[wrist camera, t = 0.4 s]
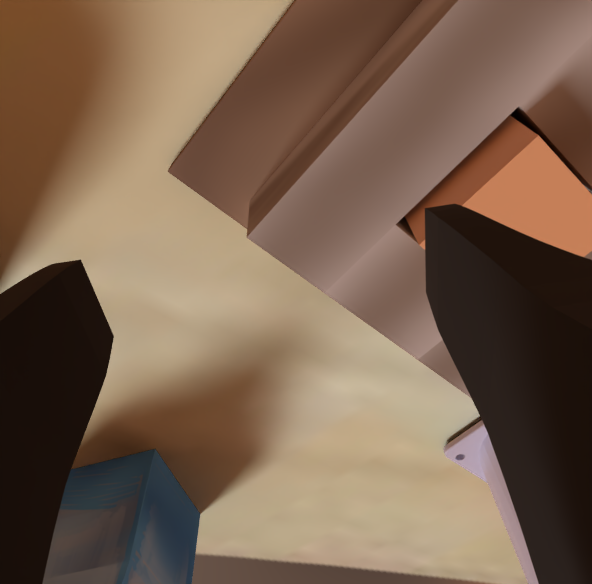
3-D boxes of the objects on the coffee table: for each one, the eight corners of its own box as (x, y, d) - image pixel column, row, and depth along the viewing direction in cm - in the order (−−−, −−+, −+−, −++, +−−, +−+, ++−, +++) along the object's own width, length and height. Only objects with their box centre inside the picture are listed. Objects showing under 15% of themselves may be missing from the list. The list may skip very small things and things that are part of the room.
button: (574, 189, 19) (621, 227, 16) (476, 272, 20) (505, 317, 18) (498, 107, 17) (538, 135, 14) (399, 204, 19) (418, 245, 16)
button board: (747, 185, 21) (824, 224, 18) (472, 387, 26) (497, 441, 24) (461, -222, 14) (511, -267, 11) (170, 166, 20) (152, 205, 17)
